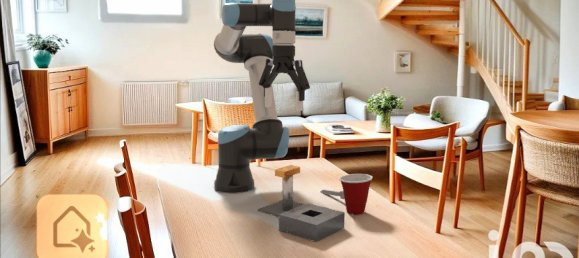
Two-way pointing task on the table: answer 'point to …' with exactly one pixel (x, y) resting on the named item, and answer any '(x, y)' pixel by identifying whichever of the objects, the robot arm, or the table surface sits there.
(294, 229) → the block
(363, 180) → the plastic cup
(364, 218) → the table surface
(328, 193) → the caliper
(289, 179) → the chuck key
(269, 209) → the key mat
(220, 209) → the table surface
